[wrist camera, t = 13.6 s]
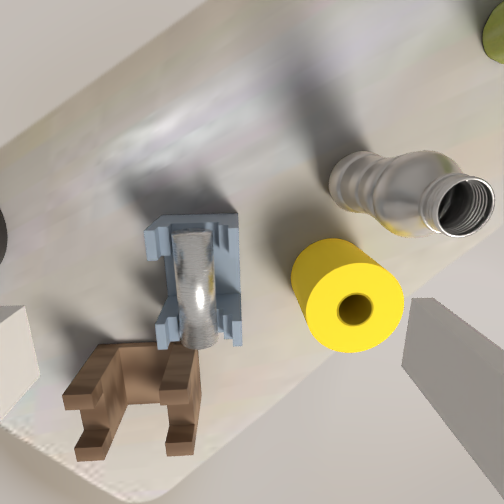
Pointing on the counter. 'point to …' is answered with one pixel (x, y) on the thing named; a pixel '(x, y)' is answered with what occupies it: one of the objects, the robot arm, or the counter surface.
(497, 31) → the plant pot
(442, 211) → the metal bottle
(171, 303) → the blue notched cradle
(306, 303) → the yellow hollow cylinder
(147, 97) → the counter surface
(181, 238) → the steel axle
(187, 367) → the bearing stand
